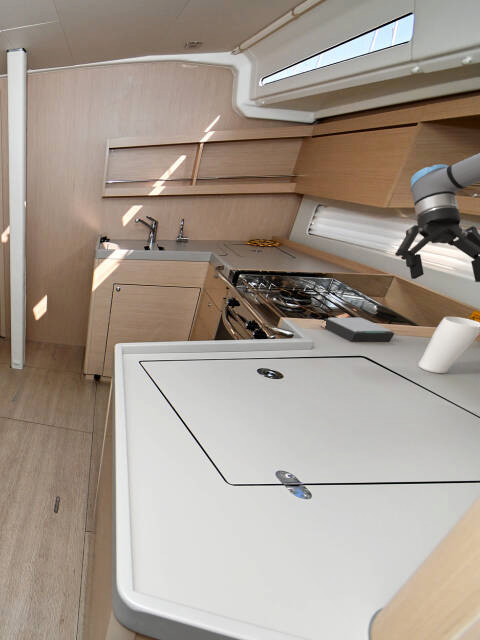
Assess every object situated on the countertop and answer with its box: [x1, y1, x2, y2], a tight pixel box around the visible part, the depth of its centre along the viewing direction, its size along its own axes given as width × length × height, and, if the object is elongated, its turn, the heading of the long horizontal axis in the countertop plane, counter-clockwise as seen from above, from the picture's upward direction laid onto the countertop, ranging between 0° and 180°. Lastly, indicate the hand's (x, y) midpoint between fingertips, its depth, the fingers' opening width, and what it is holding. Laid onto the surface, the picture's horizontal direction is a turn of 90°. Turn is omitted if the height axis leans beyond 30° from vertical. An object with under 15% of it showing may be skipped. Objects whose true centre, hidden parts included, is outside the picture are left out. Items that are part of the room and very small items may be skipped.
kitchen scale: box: [323, 317, 395, 343], centre depth 120 cm, size 12×12×4 cm
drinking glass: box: [417, 316, 480, 374], centre depth 97 cm, size 7×7×15 cm
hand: (449, 278), depth 98 cm, fingers open, 13 cm apart
